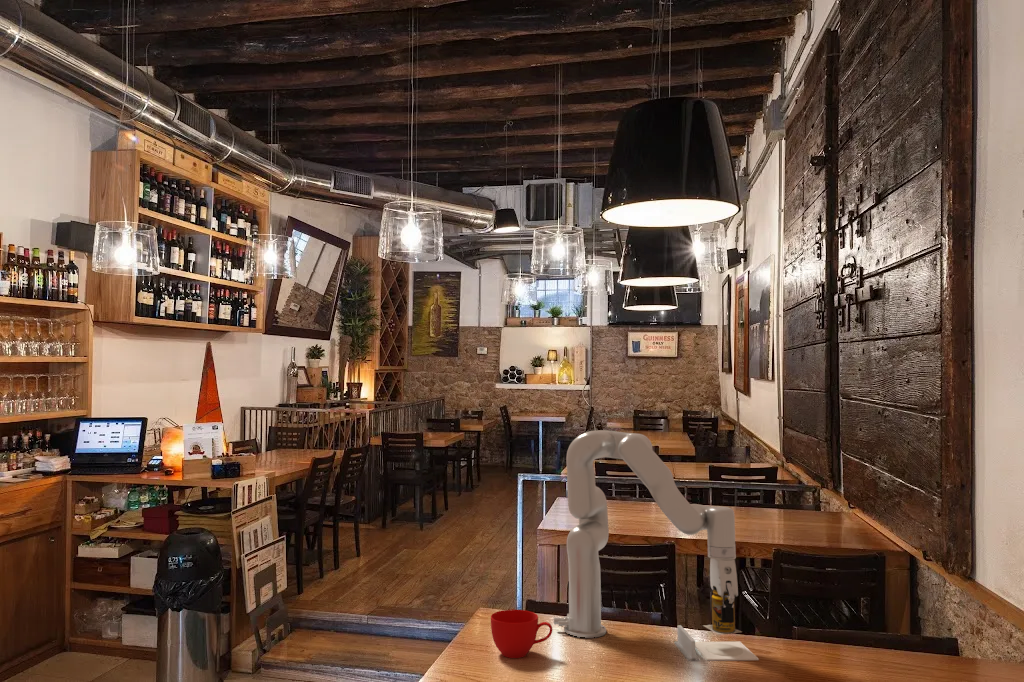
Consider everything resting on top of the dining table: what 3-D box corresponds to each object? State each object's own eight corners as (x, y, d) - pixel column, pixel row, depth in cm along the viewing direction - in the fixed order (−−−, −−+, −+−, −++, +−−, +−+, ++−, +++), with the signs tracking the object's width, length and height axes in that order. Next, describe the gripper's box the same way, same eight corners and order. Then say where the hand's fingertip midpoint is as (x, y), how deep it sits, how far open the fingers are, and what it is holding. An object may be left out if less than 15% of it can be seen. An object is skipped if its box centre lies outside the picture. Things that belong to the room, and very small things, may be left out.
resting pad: (706, 660, 188) (706, 658, 188) (691, 643, 202) (691, 641, 202) (758, 660, 189) (758, 658, 189) (740, 642, 203) (740, 641, 203)
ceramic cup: (548, 665, 185) (548, 625, 186) (485, 660, 188) (485, 621, 189) (555, 649, 197) (555, 611, 198) (496, 644, 201) (496, 608, 202)
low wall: (688, 660, 188) (687, 641, 189) (674, 643, 202) (673, 625, 203) (699, 660, 188) (698, 641, 189) (684, 643, 202) (684, 625, 203)
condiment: (719, 635, 192) (718, 589, 193) (702, 626, 200) (701, 582, 201) (742, 633, 194) (741, 588, 195) (724, 623, 202) (723, 580, 203)
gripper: (746, 558, 190) (748, 628, 188) (724, 546, 207) (726, 609, 205) (718, 558, 189) (720, 628, 188) (699, 546, 207) (700, 610, 205)
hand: (723, 618), depth 196 cm, fingers closed on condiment, 6 cm apart
